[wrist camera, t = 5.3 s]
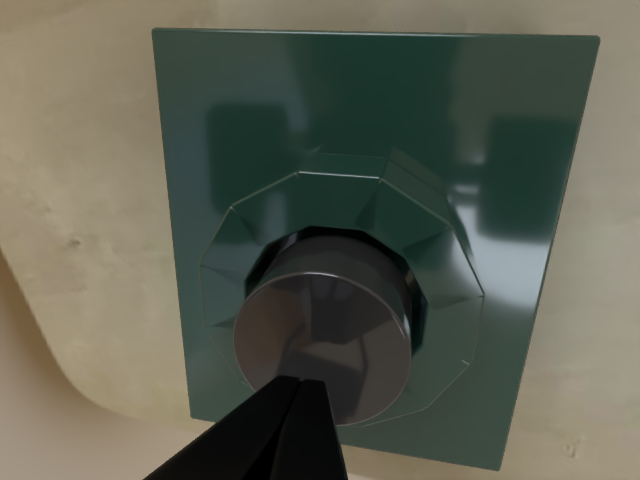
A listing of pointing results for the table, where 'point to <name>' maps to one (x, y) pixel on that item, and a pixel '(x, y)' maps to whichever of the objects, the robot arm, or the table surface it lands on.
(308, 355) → the dark grey push button
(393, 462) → the table surface
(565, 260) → the table surface
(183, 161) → the push button box
